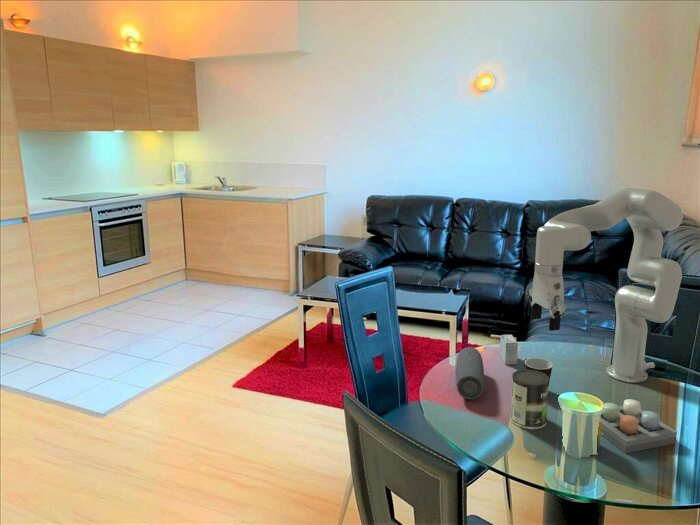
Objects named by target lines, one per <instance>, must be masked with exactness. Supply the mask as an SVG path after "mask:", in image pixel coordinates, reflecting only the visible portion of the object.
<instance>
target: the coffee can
mask: <svg viewBox="0 0 700 525" xmlns="http://www.w3.org/2000/svg"><path fill="white" fill-rule="evenodd" d="M511 379H512V380H511V381H512V382H511V403H510V404H511V405H510V406H511V408H510V421H511V423H513V424H514V425H515V426H517V427H519V428H522V429H524V430H525V429H526V430H540V429H542V428H544V427H546V425H547V419H548V417H547V416H548V403H549V402H548V400H549V386H550V382H549V380H551V378H550V379H549V377H548V376H547V375H546V374H544V373H542V372H540V371H536V370H529V369H525V368H524V369H519V370H515V371H513V373H512V374H511Z"/></svg>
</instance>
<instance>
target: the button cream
mask: <svg viewBox="0 0 700 525" xmlns="http://www.w3.org/2000/svg"><path fill="white" fill-rule="evenodd" d="M622 405H623V413H624V414H625V415H631V416H634V417H638V416H640V410H641V409H642V404H641V402H640V401H638V400H636V399H631V398H628V399H624V400H623V404H622Z"/></svg>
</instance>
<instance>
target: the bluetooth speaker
mask: <svg viewBox="0 0 700 525" xmlns="http://www.w3.org/2000/svg"><path fill="white" fill-rule="evenodd" d="M454 372H455V382H456V383H455V387H456V390H457V392H458V394H459V395H460V396H461V398H463V399H467V400H476V399H479V397H481V396H482V394H483V393H484V389H485V368H484V362H483V358H482V354H481V352H480V351H479V350H478V349H476V348H475V347H471V346H467V347H464V348H462V349H461V350H460V351H459V352H458V355H457V357H456V366H455V371H454Z"/></svg>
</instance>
